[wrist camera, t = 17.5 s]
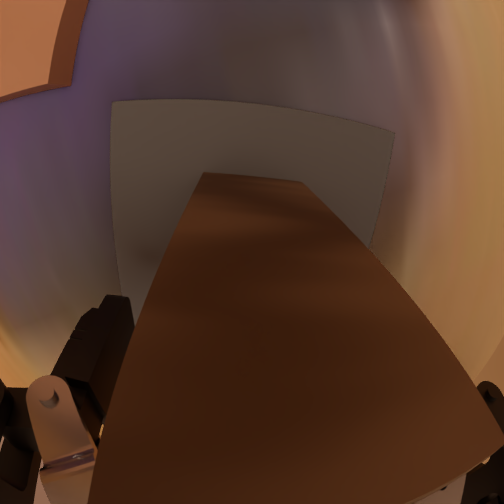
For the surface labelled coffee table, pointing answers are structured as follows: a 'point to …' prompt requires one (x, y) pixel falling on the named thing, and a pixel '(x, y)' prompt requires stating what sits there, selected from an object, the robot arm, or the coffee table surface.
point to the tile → (38, 44)
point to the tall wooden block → (283, 368)
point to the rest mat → (230, 168)
